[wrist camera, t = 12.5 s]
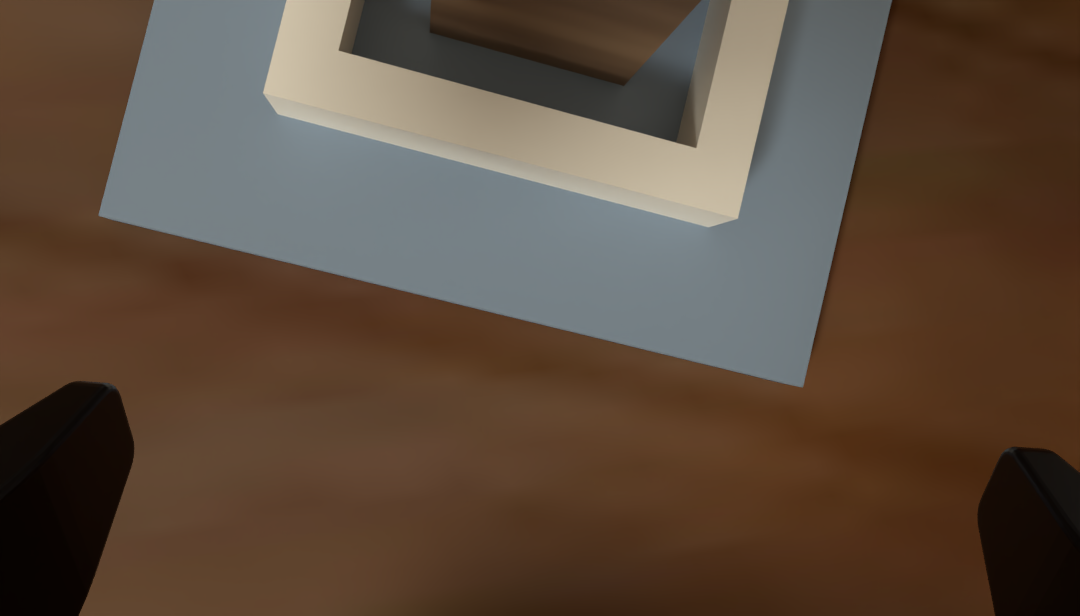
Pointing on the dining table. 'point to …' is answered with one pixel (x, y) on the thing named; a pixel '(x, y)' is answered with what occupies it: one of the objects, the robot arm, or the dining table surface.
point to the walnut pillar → (566, 30)
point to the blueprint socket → (517, 164)
